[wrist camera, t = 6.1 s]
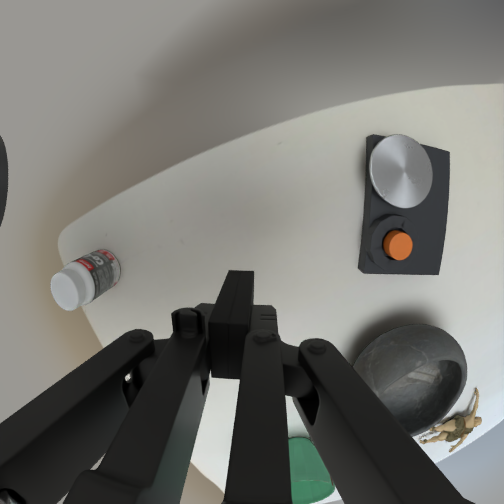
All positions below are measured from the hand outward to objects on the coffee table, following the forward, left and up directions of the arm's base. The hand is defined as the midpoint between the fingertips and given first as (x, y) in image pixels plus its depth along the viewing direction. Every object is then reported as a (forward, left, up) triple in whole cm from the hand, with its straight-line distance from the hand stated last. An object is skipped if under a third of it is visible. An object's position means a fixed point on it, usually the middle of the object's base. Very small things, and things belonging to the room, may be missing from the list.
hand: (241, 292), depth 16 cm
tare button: (+6, +13, -9) cm, 17 cm away
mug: (+29, -12, -12) cm, 34 cm away
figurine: (+49, +15, -12) cm, 52 cm away
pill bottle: (-7, -16, -12) cm, 22 cm away
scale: (+5, +17, -12) cm, 21 cm away
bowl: (+22, +8, -12) cm, 26 cm away
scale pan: (0, +17, -9) cm, 19 cm away
